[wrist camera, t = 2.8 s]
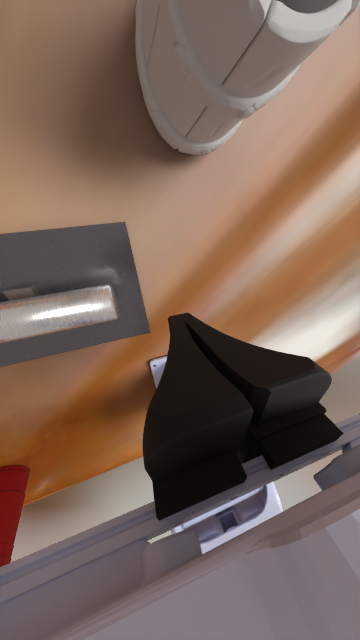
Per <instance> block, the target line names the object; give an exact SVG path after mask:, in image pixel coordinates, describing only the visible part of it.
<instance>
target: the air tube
mask: <svg viewBox="0 0 360 640" xmlns="http://www.w3.org/2000/svg"><path fill="white" fill-rule="evenodd" d="M116 319H119V308H118V303H117V299H116V296H115V293H114V290H113V288H112V286H111V285H110V284H108V285H102V286H96V287H90V288H84V289H78V290H72V291H66V292H60V293H54V294H48V295H42V296H36V297H30V298H24V299H18V300H11V301H5V302H0V343H5V342H10V341H15V340H20V339H24V338H29V337H34V336H39V335H44V334H49V333H53V332H58V331H63V330H68V329H73V328H78V327H83V326H87V325H92V324H97V323H102V322H107V321H112V320H116Z"/></svg>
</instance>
